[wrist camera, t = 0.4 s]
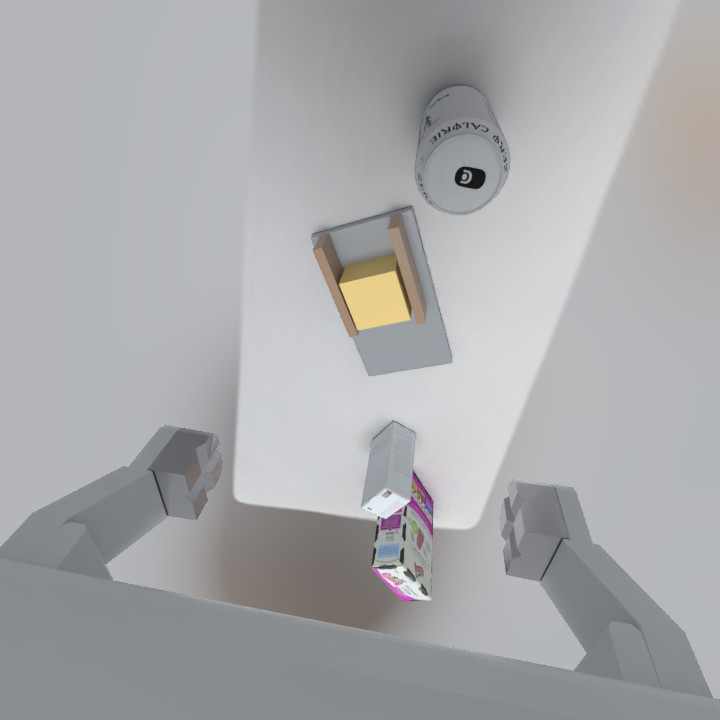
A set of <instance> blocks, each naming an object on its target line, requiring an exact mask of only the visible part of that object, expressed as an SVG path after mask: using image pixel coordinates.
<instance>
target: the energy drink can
mask: <svg viewBox="0 0 720 720" xmlns="http://www.w3.org/2000/svg"><path fill="white" fill-rule="evenodd" d="M509 169H510V153H509V147H508V145H507V142H506V139H505V137H504V135H503V133H502V131H501V128H500V126H499V124H498V122H497V120H496V118H495V116H494V114H493V111H492V109H491V107H490V105H489V103H488V101H487V100H486V98H485V97H484V96H483V95H482V94H481V93H480V92H479V91H477V90H476V89H474V88H472V87H468V86H460V85H459V86H452V87H449V88H447V89H444V90H443V91H441V92H440V93H438V94H437V95H436V96H435V97H434V98H433V99H432V100H431V101H430V103H429V104H428V106H427V108H426V110H425V112H424V114H423V118H422V122H421V129H420V135H419V142H418V148H417V155H416V162H415V179H416V183H417V187H418V189H419V191H420V193H421V195H422V196H423V198H424V199H425V200H426V201H427V202H428V203H429V204H430V205H431V206H432V207H434V208H436V209H437V210H439V211H442V212H445V213H448V214H452V215H466V214H470V213H473V212H475V211H478V210H480V209H481V208H483V207H484V206H485V205H487V204H488V203H489V202H491V201H492V200H493V199H494V198H495V197H496V196H497V195H498V193H499V192H500V190H501V189H502V187H503V186H504V184H505V181H506V179H507V177H508V173H509Z"/></svg>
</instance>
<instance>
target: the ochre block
mask: <svg viewBox="0 0 720 720" xmlns="http://www.w3.org/2000/svg"><path fill="white" fill-rule="evenodd" d="M339 286H340V288H341V290H342V293H343V295H344V298H345V300H346V303H347V305H348V308H349V310H350V313H351V315H352V317H353V320H354V322H355V325H356V327H357V330H363V329H368V328H373V327H378V326H383V325H388V324H393V323H399V322H404V321H409V320H411V311H412V307H411V304H410V300H409V297H408V294H407V291H406V287H405V284H404V281H403V277H402V274H401V271H400V268H399V264H398V261H397V258H396V255H395V254H391V255H387V256H383V257H379V258H375V259H371V260H367V261H363V262H359V263H355V264H351V265H347V266H345V268H344V271H343V274H342V277H341V280H340V282H339Z"/></svg>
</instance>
